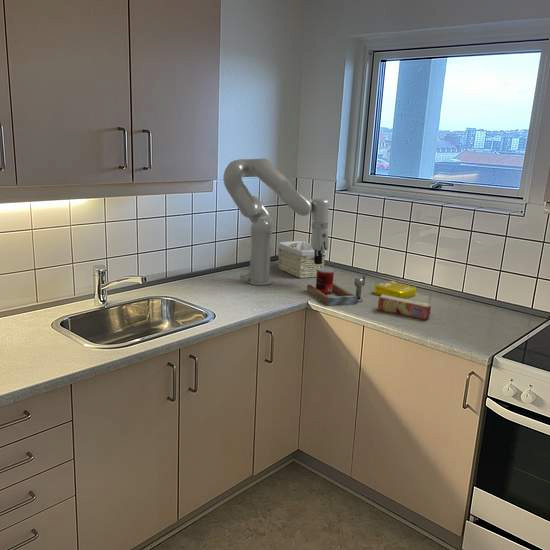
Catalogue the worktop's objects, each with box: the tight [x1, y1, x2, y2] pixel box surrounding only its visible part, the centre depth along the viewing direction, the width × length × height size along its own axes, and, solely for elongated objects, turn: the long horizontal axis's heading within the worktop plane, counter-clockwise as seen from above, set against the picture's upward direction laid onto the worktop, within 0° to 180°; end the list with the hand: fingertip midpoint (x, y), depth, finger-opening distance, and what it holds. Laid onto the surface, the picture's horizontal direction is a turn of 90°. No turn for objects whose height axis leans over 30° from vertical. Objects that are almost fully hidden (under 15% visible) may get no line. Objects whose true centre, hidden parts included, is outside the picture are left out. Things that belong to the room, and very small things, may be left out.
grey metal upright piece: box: [353, 275, 366, 303], centre depth 244 cm, size 4×4×11 cm
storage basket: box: [277, 240, 327, 279], centre depth 288 cm, size 24×16×15 cm
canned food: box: [315, 267, 335, 296], centre depth 254 cm, size 8×8×11 cm
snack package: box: [377, 295, 432, 321], centre depth 231 cm, size 21×7×7 cm, turn 63°
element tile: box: [373, 280, 417, 300], centre depth 259 cm, size 15×15×5 cm
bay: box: [306, 283, 358, 307], centre depth 248 cm, size 14×22×4 cm, turn 21°
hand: (317, 263), depth 262 cm, fingers closed
